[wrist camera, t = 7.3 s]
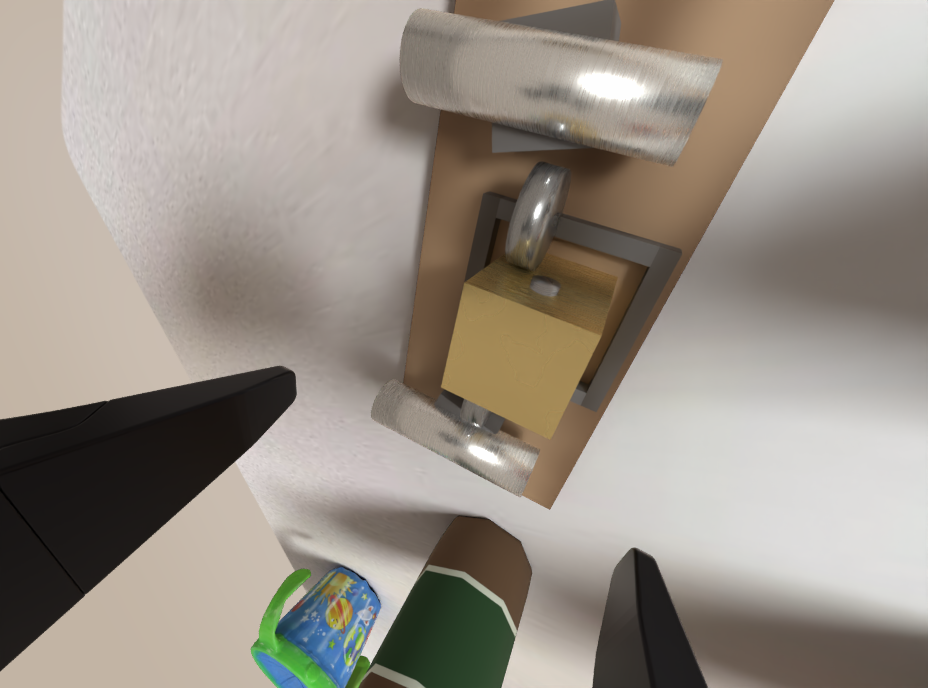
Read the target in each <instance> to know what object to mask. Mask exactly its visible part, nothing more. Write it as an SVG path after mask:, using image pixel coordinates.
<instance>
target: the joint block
mask: <svg viewBox="0 0 928 688" xmlns="http://www.w3.org/2000/svg"><path fill="white" fill-rule="evenodd" d="M617 279H618V277H615V276H613V275H610V274H607V273H604V272H601V271H598V270H595V269H592V268H589V267H586V266H584V265H581V264H578V263H575V262H572V261H569V260H566V259H563V258H560V257H557V256H555V255H552V254H549V253H546V255H545V257H544V259H543V260H542V262H541V264H540V265H539V267H538V268H537V269H536V270H535V271H531V270H528V269H526V268H523V267H520V266H517V265H514V264H511V263H509V262H507V261H506V257H505V254H504V255H502V256H501V257H500V258H498V259H497V260H495V261H494V262H493V263H491V264H490V265H488V266H487V267H486V268H484V269H483V270H481V271H480V272H479V273H477V274H476V275H474V276H473V277H471V278H470V279H469V280H467V281H466V282H464V287H463V291H462V296H461V300H460V305H459V309H458V314H457V318H456V322H455V327H454V331H453V336H452V340H451V345H450V349H449V354H448V358H447V363H446V367H445V372H444V376H443V380H442V385H441V388H443V389H445V390H447V391H449V392H452V393H454V394H456V395H458V396H460V397H462V398H464V399H466V400H468V401H470V402H472V403H474V404H477V405H479V406H481V407H483V408H485V409H487V410H489V411H491V412H493V413H495V414H497V415H499V416H502V417H504V418H506V419H508V420H510V421H512V422H514V423H516V424H518V425H520V426H522V427H524V428H527V429H529V430H531V431H533V432H535V433H537V434H539V435H541V436H543V437H545V438H547V439H550V440H551V438H552V436H553V434H554V432H555V430H556V428H557V426H558V424H559V422H560V419H561V417H562V415H563V413H564V411H565V409H566V407H567V405H568V403H569V401H570V399H571V397H572V395H573V393H574V391H575V389H576V387H577V385H578V383H579V381H580V379H581V377H582V375H583V373H584V371H585V369H586V367H587V365H588V362H589V360H590V358H591V356H592V354H593V352H594V350H595V348H596V346H597V344H598V342H599V340H600V338H601V336H602V333H603V329H604V325H605V322H606V318H607V315H608V311H609V307H610V304H611V300H612V297H613V293H614V289H615V286H616V282H617Z"/></svg>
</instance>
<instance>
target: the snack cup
mask: <svg viewBox="0 0 928 688" xmlns="http://www.w3.org/2000/svg"><path fill="white" fill-rule="evenodd" d="M310 576H311V572H310V570H308V569H300V570H297V571H295V572H293V573H292V574H291V575H290V576H288V577H287V578H286V580H285V581H284V582H283V583H282V585H281V586H280V588H279V589H278V591H277V593H276V594H275V595H274V597H273V599H272V600H271V602H270V604H269V606H268V608H267V610H266V612H265V614H264V616H263V618H262V622H261V624H260V629H259V638H258V640H257V641H256V642H255V643H254V645H253V646H252V647H251V654H252V656H253V658H254V660H255V662H256V663H257V665H258V666H259V668H260V669H261V670H262V671H263V673H264V674H265V675H266V676H267V677H268V678H269V679H270V680H271V681H272V682H273V684H274V685H275V686H276V687H277V688H358V687H359V685H360V683H361V681H362V679H363V677H364V676H365V674H366V672H367V670H368V668H369V667H370V662H369V660H368V658H367V657H365V656H360V655H361V652H362V650H363V647H364V646H365V644H366V641H367V639H368V637H369V635H370V632H371V630H372V627H373V625H374V623H375V620H376V618H377V616H378V613H379V611H380V608H381V604H380V602H379V601H378V598H377V596H376V595H375V593H374V592H373V591H372V590H371V589H370V588H369V585H368V583H367V581H365V580H362V579H360V578H359V577H358V576H357V575H356V574H355V573H353V572H351V571H350V570H346V569H345V568H343V567H339V568H336V569H333V570H331V571H329V572H328V573H327V574H326V575H325V576H324V577H323V578H322V579H321V580H320V581H319V582H318V583H317V584H316V585H315V586H314V587H313V588H312V589H311V590H310V591H309V592H308V593H307V594H306V595H305V596H304V597H303V598H302V599H301V600H300V601H299V602H298V603H297V604H296V605H295V606H294V607H293V608H292V609H291V610H290V611H289V612H288V613H287V614H286V615H285V616H284V617H283V618H282V619H281V620H280V621H279V619H280V615H281V613H282V609H283V607H284V603H285V601H286V599H287V598H288V597H289V596H290V595H291V594H292V593H293V592H294V591H295V590H296V589H298V587H300V586H301V585H302V584H303V583H304V582H305V581H306V580H307V579H308V578H309V577H310Z"/></svg>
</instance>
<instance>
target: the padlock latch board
mask: <svg viewBox="0 0 928 688" xmlns="http://www.w3.org/2000/svg"><path fill="white" fill-rule="evenodd" d="M833 2H834V0H456V3H455V10H454V14H459V15H464V16H470V17H476V18H482V19H488V20H494V21H500V22H506V23H512V24H518V25H524V26H530V27H536V28H541V29H547V30H553V31H559V32H565V33H571V34H577V35H583V36H589V37H595V38H601V39H607V40H613V41H618V42H624V43H630V44H636V45H642V46H648V47H654V48H660V49H666V50H672V51H678V52H684V53H690V54H695V55H701V56H707V57H713V58H719V59H723V63H722V66H721V68H720V71H719V73H718V76H717V78H716V80H715V83H714V85H713V87H712V90H711V92H710V94H709V96H708V98H707V101H706V103H705V105H704V107H703V109H702V111H701V114H700V116H699V118H698V120H697V122H696V124H695V126H694V128H693V130H692V132H691V134H690V137H689V139H688V141H687V143H686V145H685V146H684V148H683V150H682V152H681V154H680V156H679V158H678V160H677V162H676V163H675V165H674V166H673V167H671V166H667V165H663V164H658V163H654V162H650V161H646V160H642V159H638V158H634V157H630V156H626V155H622V154H618V153H614V152H610V151H606V150H602V149H598V148H594V147H590V146H586V145H582V144H578V143H574V142H570V141H566V140H562V139H558V138H553V137H549V136H545V135H541V134H537V133H533V132H529V131H525V130H521V129H517V128H513V127H509V126H505V125H501V124H497V123H493V122H489V121H485V120H481V119H477V118H473V117H469V116H465V115H461V114H457V113H453V112H448V111H444V110H441V112H440V119H439V126H438V134H437V141H436V148H435V155H434V163H433V170H432V177H431V184H430V192H429V199H428V206H427V214H426V221H425V228H424V235H423V243H422V250H421V257H420V265H419V272H418V279H417V286H416V294H415V301H414V308H413V316H412V323H411V330H410V337H409V345H408V352H407V359H406V366H405V374H404V381H403V384H405V385H407V386H409V387H411V388H414V389H416V390H418V391H420V392H422V393H424V394H426V395H428V396H430V397H432V398H434V399H436V402H435V404H434V405H436V406H438V407H440V408H442V409H444V410H446V411H448V412H450V413H452V414H454V415H456V416H458V417H460V413H461V408H462V404H463V401H464V398H462V397H460V396H458V395H456V394H454V393H452V392H449V391H447V390H445V389H443V388H441V385H442V380H443V376H444V372H445V367H446V363H447V358H448V354H449V349H450V345H451V340H452V336H453V331H454V327H455V322H456V318H457V314H458V309H459V305H460V300H461V296H462V291H463V287H464V282H466V281H467V280H469V279H470V278H471V277H473V276H474V275H476V274H477V273H479V272H480V271H481V270H483V269H484V268H486V267H487V266H488V265H490V264H491V263H493V262H494V261H495V260H497V259H498V258H500V257H501V256H502V255H504V254H505V247H506V239H507V234H508V229H509V225H510V221H511V218H512V214H513V211H514V208H515V205H516V202H517V199H518V197H519V194H520V192H521V190H522V187H523V185H524V183H525V181H526V179H527V177H528V175H529V173H530V172H531V170H532V169H533V167H534V166H535V165H536V164H537V163H538V162H540V161H542V162H546V163H549V164H553V165H557V166H561V167H564V168H568V169H570V170H571V182H570V187H569V192H568V196H567V199H566V203H565V206H564V210H563V213H562V216H561V219H560V221H559V224H558V227H557V230H556V232H555V235H554V237H553V240H552V242H551V244H550V246H549V249H548V251H547V253H549V254H552V255H555V256H557V257H560V258H563V259H566V260H569V261H572V262H575V263H578V264H581V265H584V266H586V267H589V268H592V269H595V270H598V271H601V272H604V273H607V274H610V275H613V276H615V277H618V279H617V282H616V286H615V289H614V293H613V297H612V300H611V304H610V307H609V311H608V315H607V318H606V322H605V325H604V329H603V333H602V336H601V338H600V340H599V342H598V344H597V346H596V348H595V350H594V352H593V354H592V356H591V358H590V360H589V362H588V365H587V367H586V369H585V371H584V373H583V375H582V377H581V379H580V381H579V383H578V385H577V387H576V389H575V391H574V393H573V395H572V397H571V399H570V401H569V403H568V405H567V407H566V409H565V411H564V413H563V415H562V417H561V419H560V422H559V424H558V426H557V428H556V430H555V432H554V434H553V436H552V438H551V440H550V439H547V438H545V437H543V436H541V435H539V434H537V433H535V432H533V431H531V430H529V429H527V428H524V427H522V426H520V425H518V424H516V423H514V422H512V421H510V420H508V419H506V418H504V417H502V416H499V415H497V414H495V413H493V412H492V413H491V415H490V417H489V418H488V420H487V422H486V423H485V425H484V426H483V427H482V428H483V429H485V430H487V431H489V432H491V433H493V434H497V433H498V432H499V430H501V431H503V432H505V433H507V434H509V435H511V436H513V437H515V438H517V439H519V440H521V441H523V442H526V443H528V444H530V445H532V446H534V447H536V448H538V449H540V452H539V455H538V458H537V460H536V463H535V466H534V468H533V470H532V473H531V475H530V478H529V480H528V482H527V485H526V487H525V489H524V491H523V493H522V495H523V496H525V497H526V498H528V499H530V500H532V501H534V502H536V503H538V504H540V505H542V506H544V507H546V508H548V509H549V510H550V509H551V507H552V505H553V503H554V501H555V500H556V498H557V496H558V494H559V492H560V491H561V489H562V487H563V485H564V483H565V482H566V480H567V478H568V476H569V475H570V473H571V471H572V469H573V467H574V466H575V464H576V462H577V460H578V458H579V457H580V455H581V453H582V451H583V449H584V448H585V446H586V444H587V442H588V441H589V439H590V437H591V435H592V433H593V432H594V430H595V428H596V426H597V424H598V423H599V421H600V419H601V417H602V415H603V414H604V412H605V410H606V408H607V407H608V405H609V403H610V401H611V399H612V398H613V396H614V394H615V392H616V390H617V389H618V387H619V385H620V383H621V381H622V380H623V378H624V376H625V374H626V372H627V371H628V369H629V367H630V365H631V364H632V362H633V360H634V358H635V356H636V355H637V353H638V351H639V349H640V347H641V346H642V344H643V342H644V340H645V338H646V337H647V335H648V333H649V331H650V330H651V328H652V326H653V324H654V322H655V321H656V319H657V317H658V315H659V313H660V312H661V310H662V308H663V306H664V304H665V303H666V301H667V299H668V297H669V296H670V294H671V292H672V290H673V288H674V287H675V285H676V283H677V281H678V279H679V278H680V276H681V274H682V272H683V270H684V269H685V267H686V265H687V263H688V262H689V260H690V258H691V256H692V254H693V253H694V251H695V249H696V247H697V245H698V244H699V242H700V240H701V238H702V236H703V235H704V233H705V231H706V229H707V227H708V226H709V224H710V222H711V220H712V219H713V217H714V215H715V213H716V211H717V210H718V208H719V206H720V204H721V202H722V201H723V199H724V197H725V195H726V193H727V192H728V190H729V188H730V186H731V185H732V183H733V181H734V179H735V177H736V176H737V174H738V172H739V170H740V168H741V167H742V165H743V163H744V161H745V159H746V158H747V156H748V154H749V152H750V151H751V149H752V147H753V145H754V143H755V142H756V140H757V138H758V136H759V134H760V133H761V131H762V129H763V127H764V125H765V124H766V122H767V120H768V118H769V116H770V115H771V113H772V111H773V109H774V108H775V106H776V104H777V102H778V100H779V99H780V97H781V95H782V93H783V91H784V90H785V88H786V86H787V84H788V82H789V81H790V79H791V77H792V75H793V74H794V72H795V70H796V68H797V66H798V65H799V63H800V61H801V59H802V57H803V56H804V54H805V52H806V50H807V48H808V47H809V45H810V43H811V41H812V40H813V38H814V36H815V34H816V32H817V31H818V29H819V27H820V25H821V23H822V22H823V20H824V18H825V16H826V14H827V13H828V11H829V9H830V7H831V6H832V4H833Z"/></svg>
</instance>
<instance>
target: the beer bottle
mask: <svg viewBox="0 0 928 688" xmlns="http://www.w3.org/2000/svg"><path fill="white" fill-rule="evenodd" d="M531 576H532V570H531V566H530V564H529V561H528V559H527V556H526V554H525V551H524V549H523V547H522V544H521V542H520V541H519V540H518V539H516V538H515V537H513V536H512V535H511V534H509V533H508V532H506V531H505V530H504V529H502V528H501V527H499V526H498V525H496V524H495V523H494V522H492V521H491V520H489V519H481V518H472V517H463V516H458V517H456V518H455V519H454V521H453V522H452V523H451V525H450V526H449V527H448V529H447V530H446V531H445V533H444V534H443V536H442V537H441V539H440V540H439V542H438V544H437V545H436V547H435V548H434V550H433V552H432V553H431V555H430V557H429V559H428V561H427V562H426V564H425V566H424V568H423V570H422V572H421V573H420V575H419V577H418V579H417V581H416V582H415V584H414V586H413V588H412V590H411V592H410V593H409V595H408V597H407V599H406V601H405V603H404V604H403V606H402V608H401V610H400V612H399V614H398V615H397V617H396V619H395V621H394V623H393V624H392V626H391V628H390V630H389V632H388V634H387V635H386V637H385V639H384V641H383V643H382V645H381V646H380V648H379V650H378V652H377V654H376V656H375V657H374V659H373V661H372V663H371V665H370V667H369V668H368V670H367V672H366V674H365V676H364V677H363V679H362V681H361V683H360V685H359V687H358V688H501V687H502V683H503V680H504V676H505V673H506V669H507V666H508V662H509V659H510V655H511V651H512V648H513V644H514V641H515V637H516V634H517V630H518V627H519V623H520V620H521V616H522V612H523V609H524V605H525V602H526V598H527V594H528V590H529V585H530V580H531Z"/></svg>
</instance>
